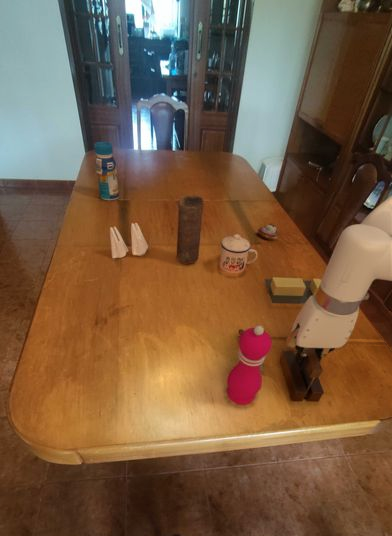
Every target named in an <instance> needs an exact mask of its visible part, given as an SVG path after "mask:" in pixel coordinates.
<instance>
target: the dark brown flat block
mask: <svg viewBox="0 0 392 536" xmlns="http://www.w3.org/2000/svg"><path fill="white" fill-rule="evenodd" d="M296 351H297V350H296ZM297 354H298V351H297V352H296V353H295V357H296V356H297ZM307 356H308V360H307V362H306V364H305V366H304V368H303V369H302V370H300V371H301V374H302V377H303V380H304V383H305V386H306V389H307V392H308V390H309V388H310V386H311V384H312V382H313V380H314V379H315V378H319V379H320V377H321V375H322V374H323V371H324V369H323V367H322V364H321V361H320V362H319V359H318V357H317V354H316V352H315V349H314V348H310V350H309V352H308V354H307Z"/></svg>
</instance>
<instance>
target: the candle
mask: <svg viewBox="0 0 392 536" xmlns="http://www.w3.org/2000/svg"><path fill="white" fill-rule="evenodd" d="M203 210H204V199H203V197H200V196H199V195H198V196H197V195H193V194H192V195H186V196H184V197H181V198H179V200H178V217H177V218H178V220H177V235H176V236H177V237H176V238H177V240H176V254H175V255H176V260H178V261H179V262H180V263H181V264H193V263H194V264H195V263H196V262H197V261H198V260H199V255H200V254H199V253H200V244H201V232H202V231H201V230H202V222H203V221H202V220H203V212H204V211H203Z"/></svg>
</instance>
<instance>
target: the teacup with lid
mask: <svg viewBox="0 0 392 536" xmlns="http://www.w3.org/2000/svg"><path fill="white" fill-rule="evenodd" d="M220 245H221V247H220V254H219V262H218V267H219V268H220V270H222V271H224V272H226V273H228V274H229V273H230V274H239V273H242V272H244V271H245V270H246V267H247V265H249V264H253V263H254V262H255V261H256V260H257V258H258V251H257V250H256V249H254V248H251V244H250V242H249V240H247V239H246V238H244V237H241V235H240V234H238V233H235V234H234V235H232V236H231V235H230V236H226V237H224V238H223V239H222V240H221V242H220ZM249 253H253V254H254V257H253V258H252V259H249V260H248V256H249Z"/></svg>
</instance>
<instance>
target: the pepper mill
mask: <svg viewBox="0 0 392 536" xmlns="http://www.w3.org/2000/svg"><path fill="white" fill-rule="evenodd" d="M239 336H240V335H239ZM272 346H273V342H272V337H271V335H270V334H269V332H267V331H266V330H265V329H264V327H263V325H260V324H259V325H256V326H254V327H250V328H247V329H246V330H244V332H243V333H242V334H241V336H240V338H239V339H238V348H239V350H238V359H239V360H238V363H237V364H236V365H234V366H233V367H232V368H231V369H230V370H229V372H228V375H227V378H226V384H227V388H226V395H227V397H228V399H229V400H230V401H231V402H233V403H234V404H236V405H239V406H240V405H241V406H246V405H250V404H252V403H253V402H254V400H255V398H256V395H258V393H259V392H260V390H261V388H262V383H263V377H262V374H261V371H260V364H263V363H264V362H265V358H266V356H267V355H268V354H269V353H270V352H271V350H272Z"/></svg>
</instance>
